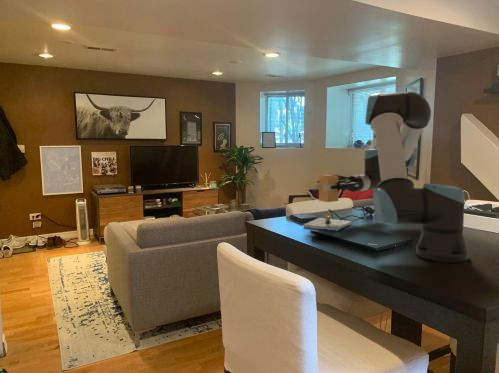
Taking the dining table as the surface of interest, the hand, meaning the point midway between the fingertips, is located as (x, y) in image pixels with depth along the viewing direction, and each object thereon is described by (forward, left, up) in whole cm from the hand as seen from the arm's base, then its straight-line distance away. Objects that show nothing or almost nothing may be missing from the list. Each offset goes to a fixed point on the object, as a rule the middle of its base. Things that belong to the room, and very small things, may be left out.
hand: (319, 187), depth 161 cm
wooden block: (+5, -2, -6) cm, 8 cm away
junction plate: (+4, -2, -18) cm, 19 cm away
